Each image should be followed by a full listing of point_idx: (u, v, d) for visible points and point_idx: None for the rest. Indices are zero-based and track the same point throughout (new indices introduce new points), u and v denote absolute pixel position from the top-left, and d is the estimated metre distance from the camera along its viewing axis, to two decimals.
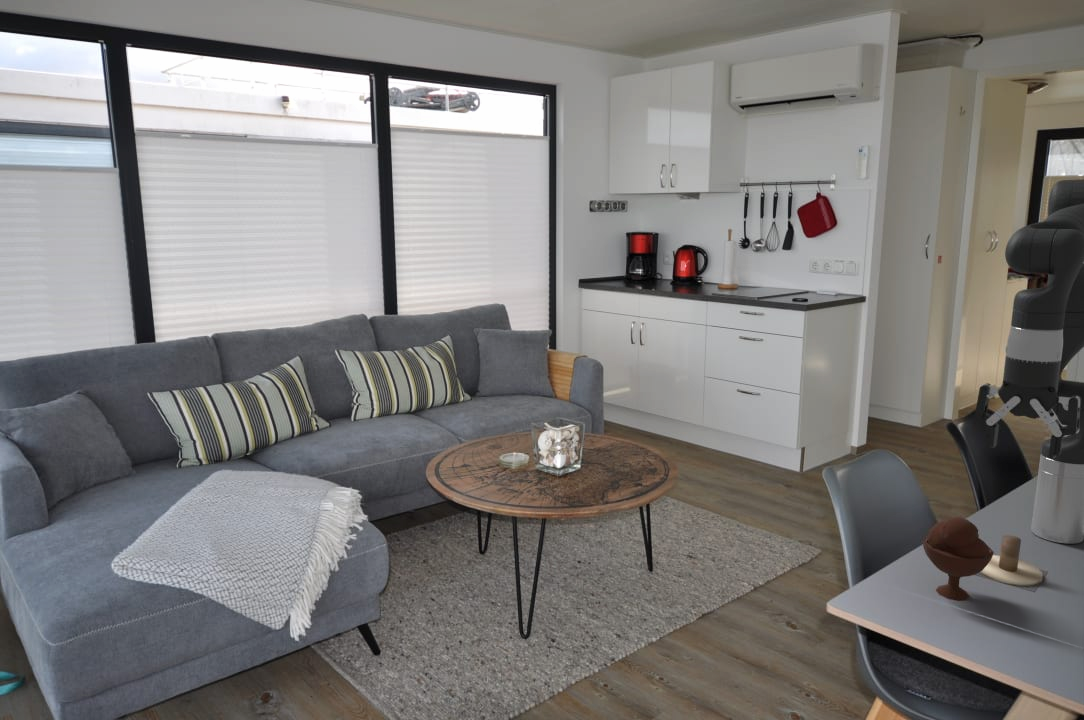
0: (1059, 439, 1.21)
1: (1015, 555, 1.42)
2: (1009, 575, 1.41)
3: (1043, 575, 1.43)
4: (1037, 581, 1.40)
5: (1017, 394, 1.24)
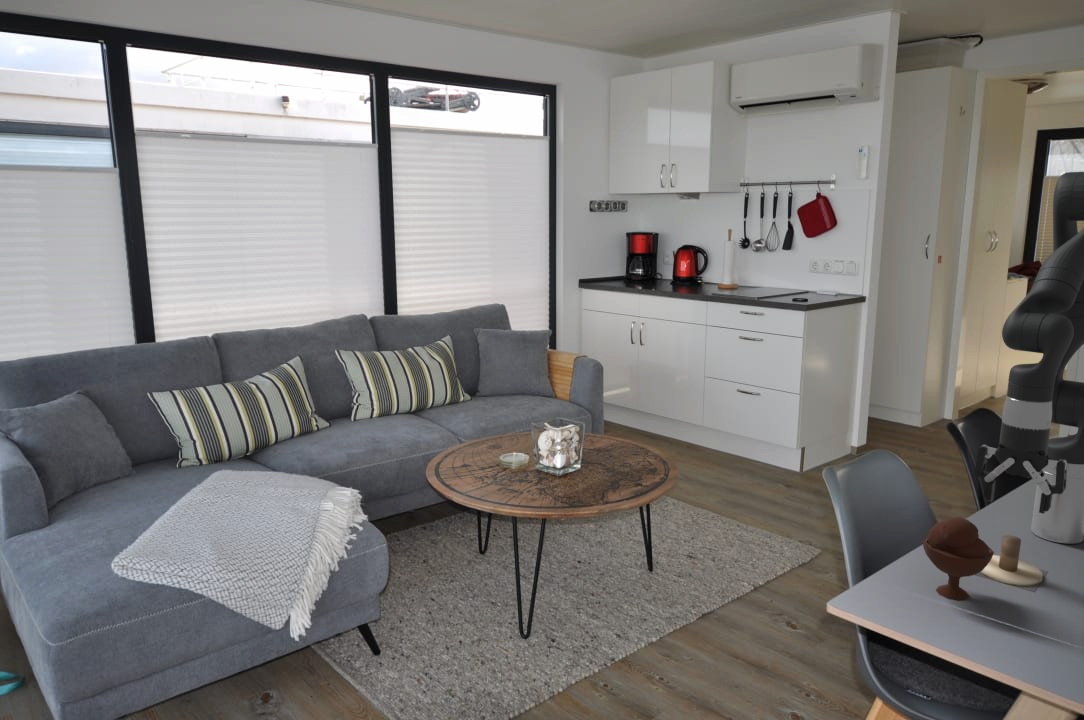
0: (1048, 497, 1.37)
1: (1015, 555, 1.42)
2: (1009, 575, 1.41)
3: (1043, 575, 1.43)
4: (1037, 581, 1.40)
5: (1012, 456, 1.40)
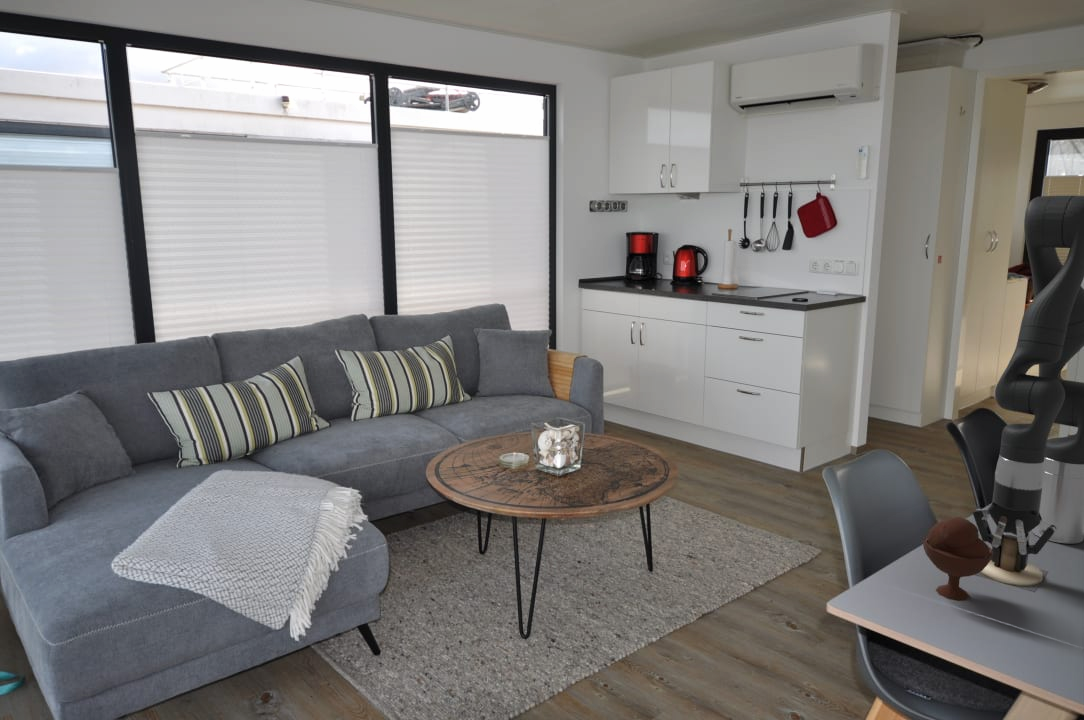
0: (1024, 556, 1.42)
1: (1015, 555, 1.42)
2: (1009, 575, 1.41)
3: (1043, 575, 1.43)
4: (1037, 581, 1.40)
5: (1002, 513, 1.43)
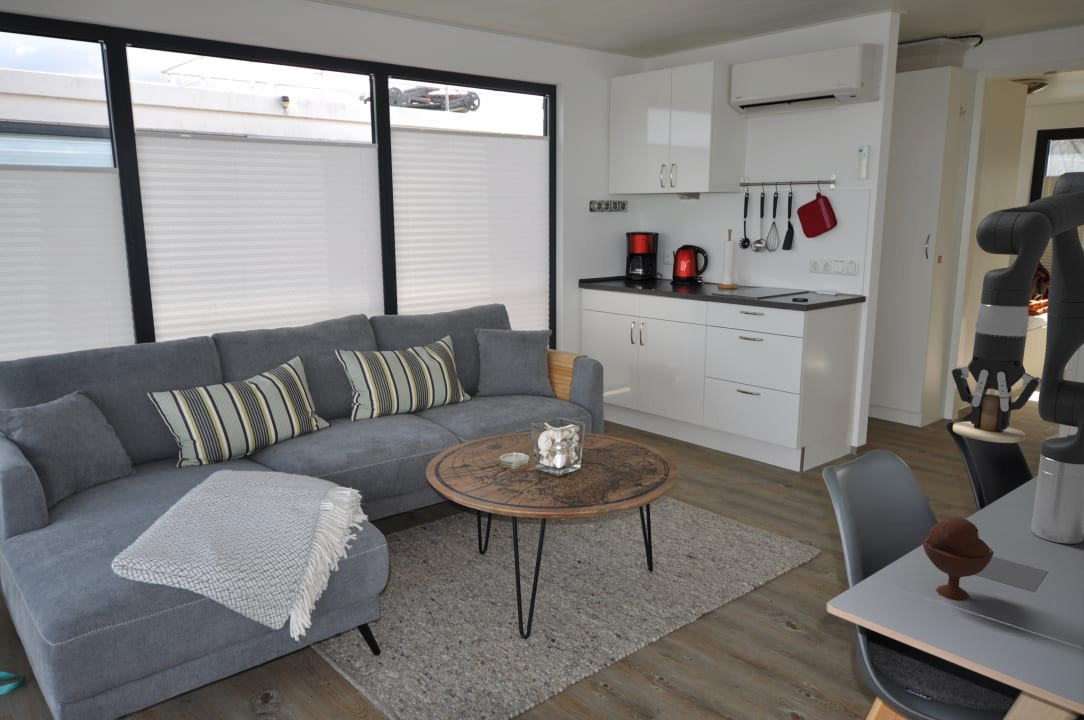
0: (1006, 414, 1.30)
1: (996, 413, 1.31)
2: (989, 434, 1.30)
3: (1043, 575, 1.43)
4: (1020, 438, 1.28)
5: (983, 368, 1.32)
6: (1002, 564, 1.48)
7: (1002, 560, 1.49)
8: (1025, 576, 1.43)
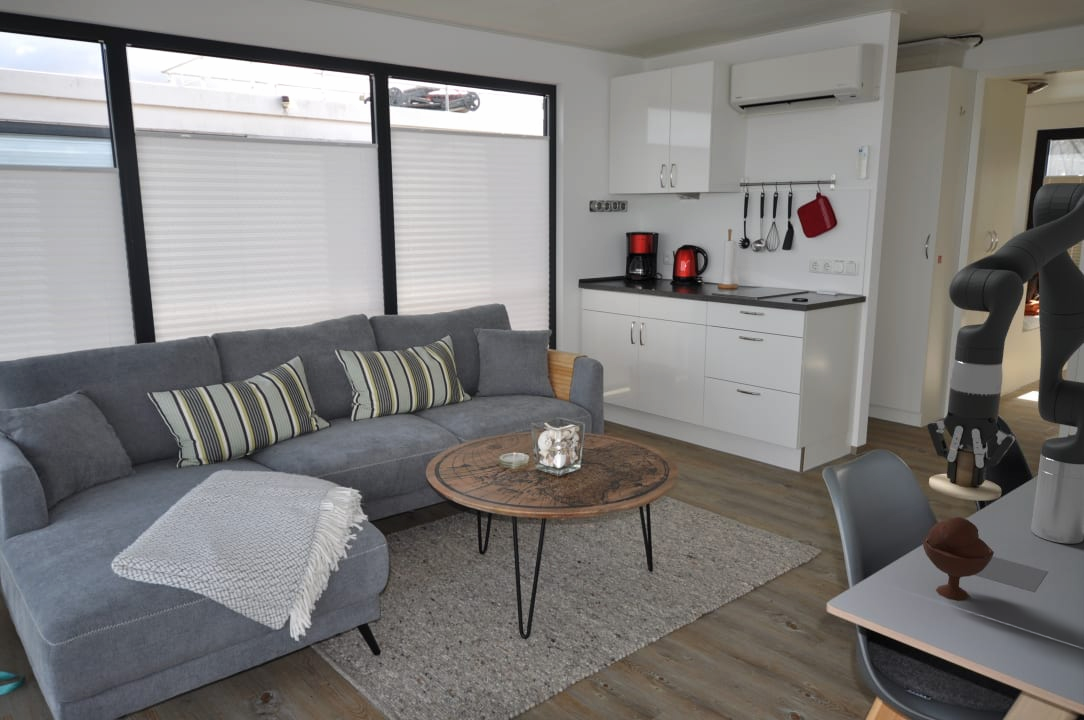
0: (981, 470, 1.30)
1: (972, 469, 1.31)
2: (965, 490, 1.30)
3: (1043, 575, 1.43)
4: (995, 496, 1.28)
5: (958, 424, 1.31)
6: (1002, 564, 1.48)
7: (1002, 560, 1.49)
8: (1025, 576, 1.43)
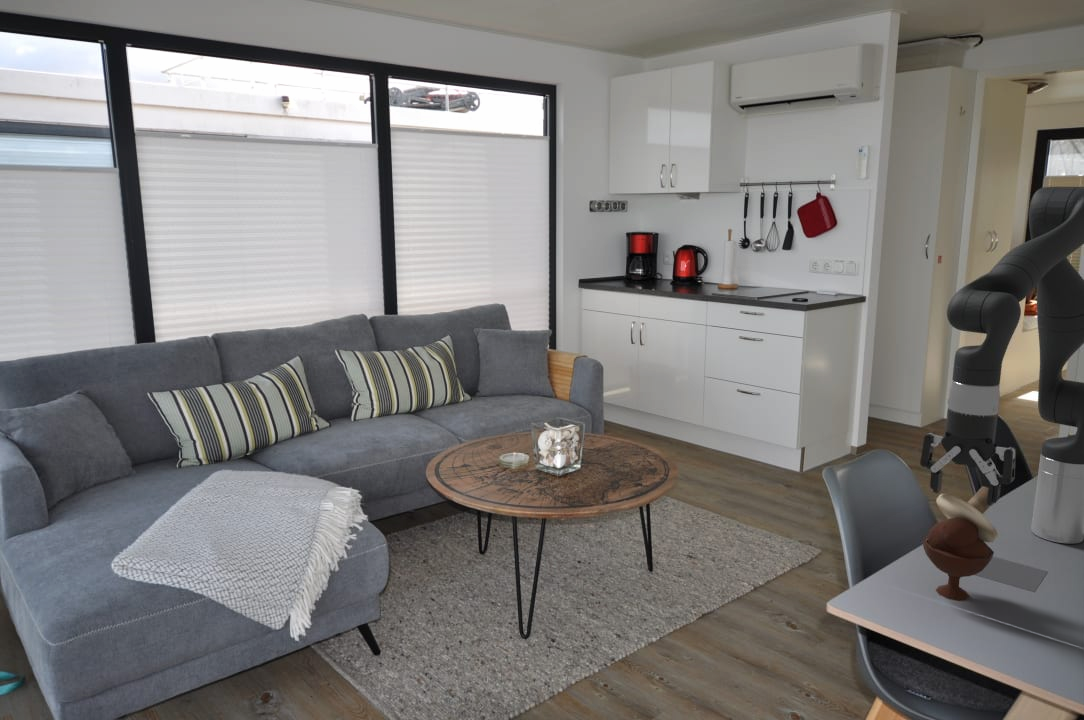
0: (996, 487, 1.29)
1: (985, 503, 1.34)
2: None
3: (1043, 575, 1.43)
4: (994, 529, 1.30)
5: (958, 444, 1.31)
6: (1002, 564, 1.48)
7: (1002, 560, 1.49)
8: (1025, 576, 1.43)
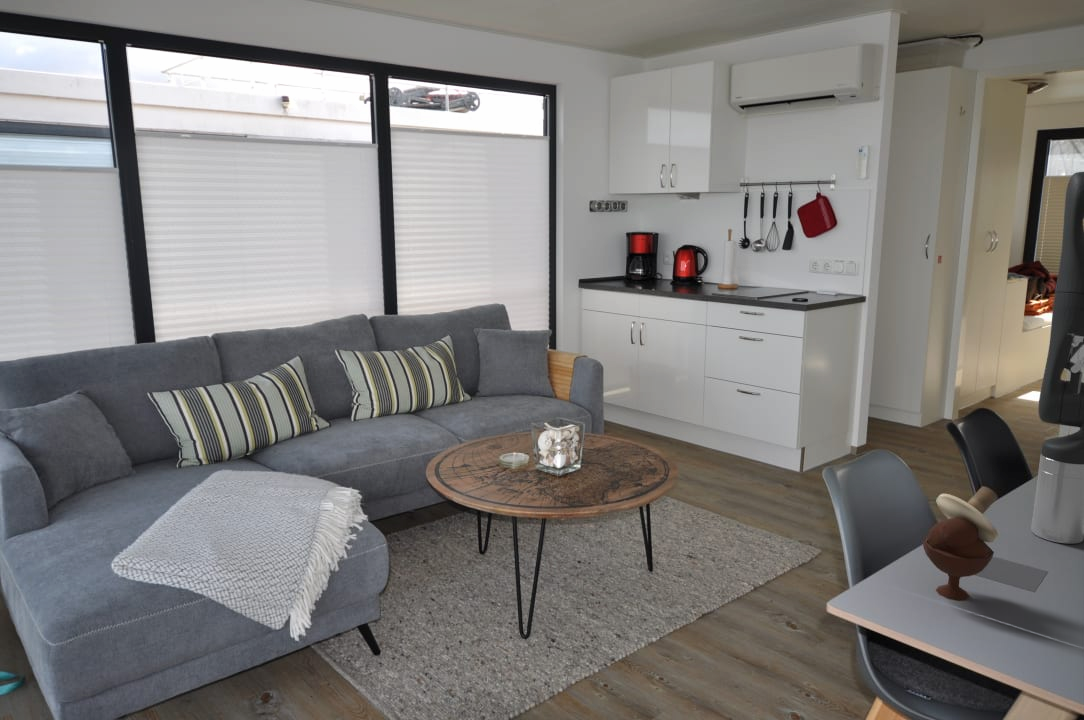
0: None
1: (985, 503, 1.34)
2: None
3: (1043, 575, 1.43)
4: (994, 529, 1.30)
5: None
6: (1002, 564, 1.48)
7: (1002, 560, 1.49)
8: (1025, 576, 1.43)
